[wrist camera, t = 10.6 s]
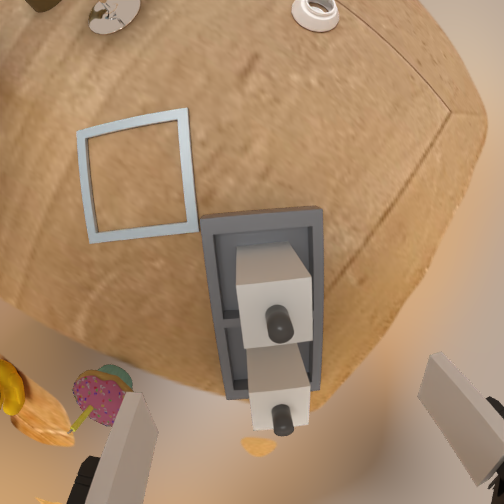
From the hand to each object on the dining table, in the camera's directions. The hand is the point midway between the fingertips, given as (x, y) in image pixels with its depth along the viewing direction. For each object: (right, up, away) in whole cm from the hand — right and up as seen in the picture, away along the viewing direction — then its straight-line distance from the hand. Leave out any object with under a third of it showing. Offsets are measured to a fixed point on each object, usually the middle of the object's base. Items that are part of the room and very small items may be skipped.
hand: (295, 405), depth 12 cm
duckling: (-40, -13, +22) cm, 48 cm away
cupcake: (-20, -10, +22) cm, 31 cm away
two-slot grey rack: (0, +1, +20) cm, 20 cm away
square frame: (-13, +14, +16) cm, 25 cm away
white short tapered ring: (+5, +32, +12) cm, 34 cm away
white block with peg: (-1, +5, +18) cm, 19 cm away
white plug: (0, -4, +21) cm, 21 cm away
